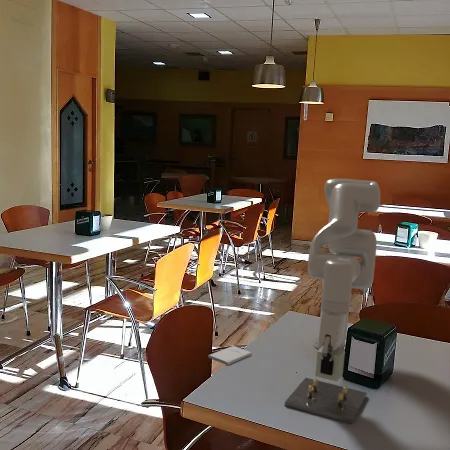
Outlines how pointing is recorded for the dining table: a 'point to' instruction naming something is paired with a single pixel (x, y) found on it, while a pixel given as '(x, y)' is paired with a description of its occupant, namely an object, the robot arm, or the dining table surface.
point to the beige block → (337, 365)
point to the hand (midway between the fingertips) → (329, 369)
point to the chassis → (327, 400)
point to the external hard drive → (230, 355)
